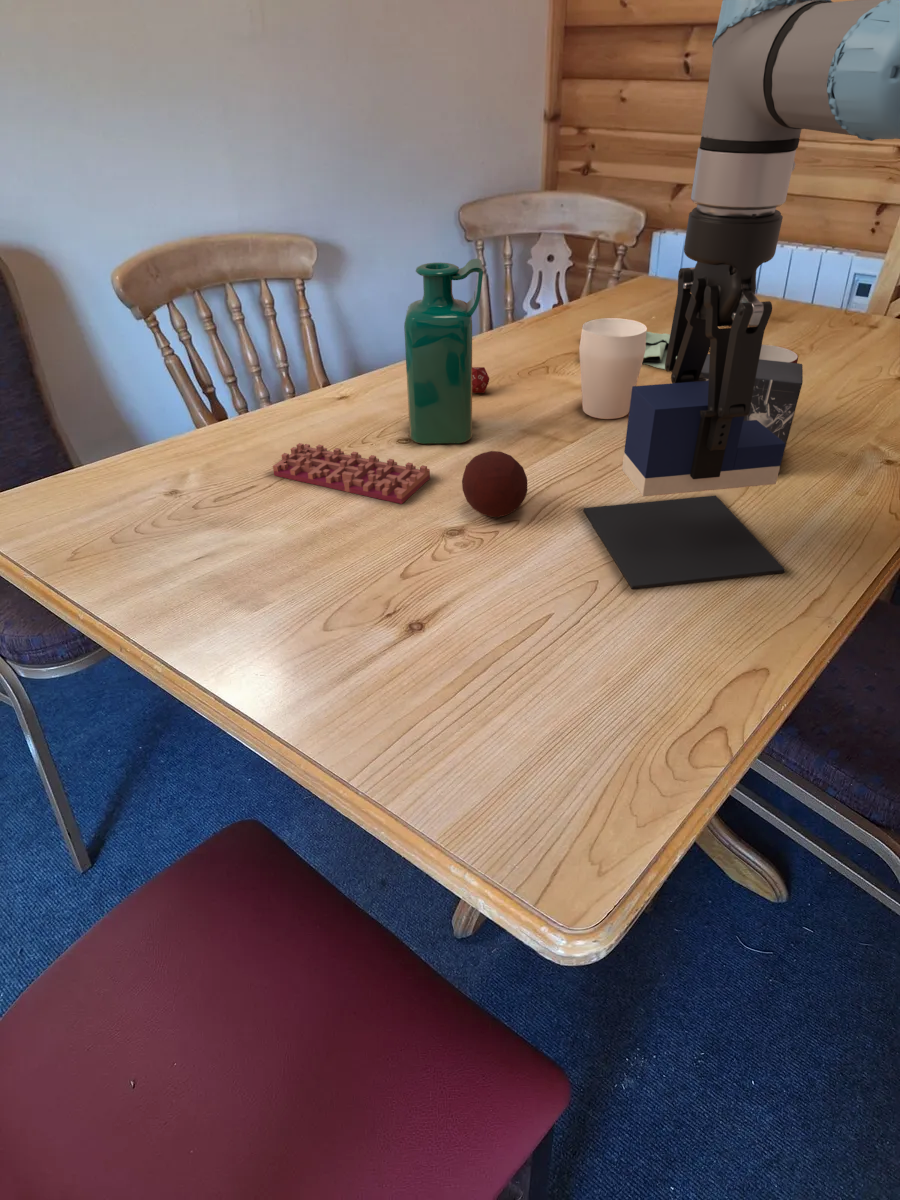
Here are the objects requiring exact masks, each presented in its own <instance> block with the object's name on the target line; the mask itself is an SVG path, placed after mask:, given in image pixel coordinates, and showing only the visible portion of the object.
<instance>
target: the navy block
mask: <svg viewBox="0 0 900 1200" xmlns="http://www.w3.org/2000/svg"><path fill="white" fill-rule="evenodd" d="M708 387H709V381H696V382H683V383H672V382H671V383H660V384H647V385H636V386H633V387H632V393H631V401H630V410H629V413H628V419H627V426H626V434H625V441H624V449H623V458H622V468H621V470H622V472H623V473H624V475H625V476H626V477H627V478H628V480H629V481H630V482H631V485H633V486H634V487H635V489H636V490H637V492H638V493H639V494H640V496H641V497H643V498H644V497H654V496H655V497H656V496H665V495H674V494H675V495H676V494H686V493H696V492H706V491H717V490H727V489H738V488H748V487H758V486H768V485H770V486H771V485H776V484H777V481H778V477H779V474H780V470H779V469H781V466H782V462H783V458H784V454H785V451H784V449H785V450H786V447H785V445H786V446H787V443H786V444H785V443H784V442H783V441H782V440H781V439H779V438H778V437H777V436H776V435H774V434H773V433H772V432H771V431H770V430H768V429H767V428H766V427H765V426H763V425H762V424H761V423H760V422H759V421H757V420H750V421H743V420H744V416H742V417H733V419H732V421H731V426H730V431H729V435H728V439H727V445H726V448H725V453H724V458H723V463H722V468H721V473H720V477H713V478H702V479H692V477H691V476H690V474H691V468H692V463H693V457H694V452H695V446H696V441H697V435H698V430H699V424H700V419H701V416H700V411H703V410H708ZM783 453H784V454H783ZM782 457H783V458H782ZM781 461H782V462H781ZM780 465H781V466H780ZM778 473H779V474H778Z"/></svg>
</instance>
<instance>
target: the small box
mask: <svg viewBox="0 0 900 1200" xmlns="http://www.w3.org/2000/svg"><path fill="white" fill-rule="evenodd" d="M709 362H710V353H708V354H707V357H706V360H705V363H704V366H703V369H702V371H701V372H702V374H703V376H704V377H705V378H704V379H706V380H705V381H709ZM803 367H804V366H803V363H799V362H797V363H790V362H780V361H771V360H761V359H759V363H758V368H757V374H756V379H755V384H754V390H753V395H752V401H751V406H750V412H749V414H748V416H744V420H743V421H750V420H757V421H759V422H760V423H761V424H762V425H763V426H765V427H766V428H767V429H768V430H770V431H771V432H772V433H773V434H774V435H776V436H777V437H778V438H779V439H781V440H782V441H783V442H784V443H785V444H786V445H785V449H784V453H783V455H785V450H786V447H787V442H788V440H789V434H790V432H791V428H792V424H793V421H794V417H795V413H796V409H797V405H798V401H799V398H800V395H801V394H800V393H801V390H802V386H803V383H804V382H803V381H804V377H803V372H804V371H803V370H804V369H803ZM782 459H784V456H783V457H782ZM782 462H783V460H782V461H781V463H782ZM781 466H782V464H781V465H780V467H781ZM780 469H781V468H780ZM780 469H779V471H780ZM779 474H780V472H779V473H778V475H779Z"/></svg>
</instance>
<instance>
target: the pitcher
mask: <svg viewBox="0 0 900 1200" xmlns="http://www.w3.org/2000/svg"><path fill="white" fill-rule="evenodd" d="M415 273H416V274H418V276H421V277H422V283H423V285H422V286H423V295H422V298H421V299H417V300H415V301H413V302H411V303H410V304H409V305H408V306H407V309H406V314H405V318H404V323H403V326H404V329H403V330H404V350H405V369H406V370H405V371H406V388H407V391H406V393H407V409H408V412H407V413H408V424H409V425H408V428H409V430H408V431H409V438H410V440H412V441H413V442H414V443H416V444H421V445H437V444H440V445H441V444H444V445H445V444H448V445H449V444H463V443H466V442H468V441H470V440H471V439H472V437H473V393H472V367H473V317H472V316H473V315H474V313H475V311H476V310H477V308H478V306H479V303H480V300H481V293H482V285H483V278H484V277H483V276H484V270H483V261H482V259H480V258H472V259H470V260H469V261H467V262H466V263H465V265H464V266H463V267H461V268H459V266H457V265H456V264H453V263H449V262H428V263H427V262H426V263H424V264H420V265H418V266H417V267H416V268H415ZM472 273H476V283H475V289H474V293H473V295H472V297H471V298H470V300H469V301H468V302H467V301H464V300H462V299H458V298H455V297H454V294H453V281H460V280H461V281H462V280H464V279H466V278H468V276H470V274H472Z"/></svg>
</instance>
